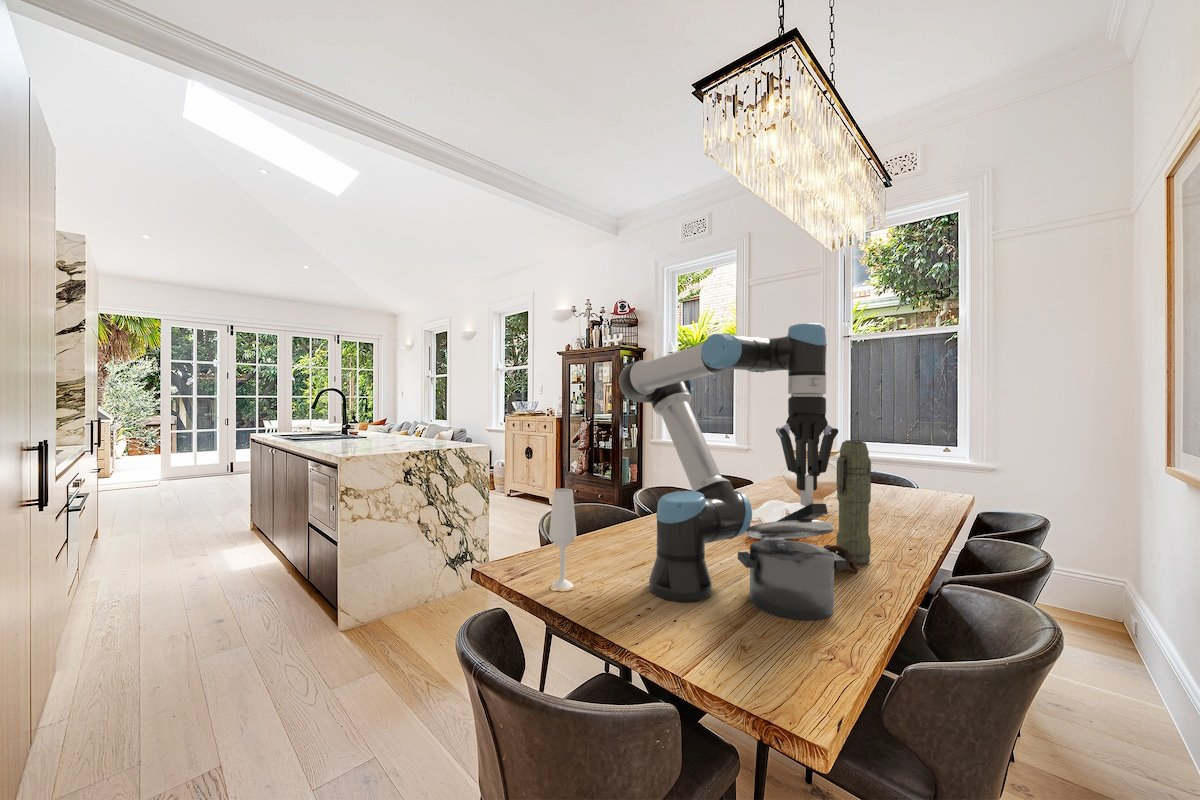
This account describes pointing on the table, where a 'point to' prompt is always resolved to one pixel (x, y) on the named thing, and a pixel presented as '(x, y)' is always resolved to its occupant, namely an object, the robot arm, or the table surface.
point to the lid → (794, 525)
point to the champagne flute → (562, 529)
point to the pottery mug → (845, 555)
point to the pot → (792, 578)
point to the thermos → (854, 499)
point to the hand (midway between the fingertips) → (806, 505)
